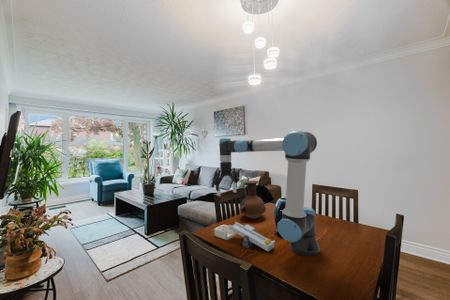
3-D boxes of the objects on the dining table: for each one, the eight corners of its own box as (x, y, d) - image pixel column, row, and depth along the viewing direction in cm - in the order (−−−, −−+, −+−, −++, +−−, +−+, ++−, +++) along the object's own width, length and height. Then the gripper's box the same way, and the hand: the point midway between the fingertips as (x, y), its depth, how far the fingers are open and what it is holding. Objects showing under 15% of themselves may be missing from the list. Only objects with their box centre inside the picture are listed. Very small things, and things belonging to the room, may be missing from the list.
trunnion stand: (258, 241, 123) (258, 231, 123) (248, 248, 114) (247, 238, 114) (253, 239, 126) (252, 229, 126) (242, 246, 117) (242, 236, 117)
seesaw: (279, 242, 118) (280, 237, 118) (268, 251, 109) (269, 245, 108) (240, 222, 136) (241, 217, 136) (228, 228, 126) (229, 223, 126)
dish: (236, 234, 133) (235, 228, 133) (226, 240, 126) (226, 232, 126) (223, 230, 140) (223, 224, 140) (214, 235, 133) (213, 228, 133)
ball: (271, 245, 113) (273, 240, 112) (268, 248, 110) (270, 242, 110) (265, 241, 115) (267, 236, 114) (262, 243, 113) (264, 238, 112)
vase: (253, 212, 178) (252, 178, 178) (272, 217, 163) (271, 180, 163) (233, 219, 162) (232, 182, 162) (252, 226, 147) (251, 185, 147)
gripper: (236, 160, 144) (237, 190, 144) (206, 162, 128) (208, 196, 128) (243, 160, 138) (244, 191, 138) (213, 163, 122) (214, 198, 122)
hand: (227, 193), depth 133 cm, fingers open, 13 cm apart
